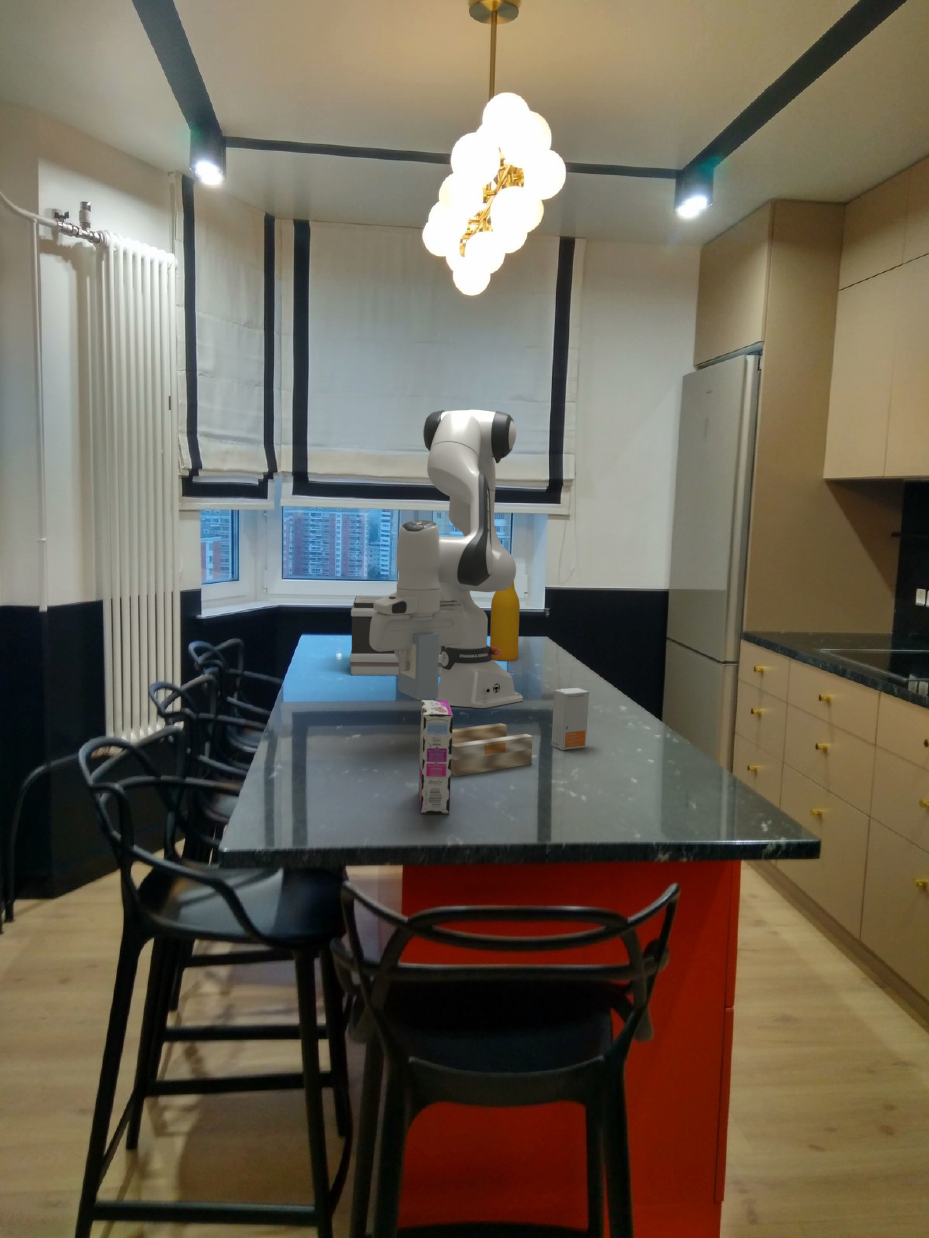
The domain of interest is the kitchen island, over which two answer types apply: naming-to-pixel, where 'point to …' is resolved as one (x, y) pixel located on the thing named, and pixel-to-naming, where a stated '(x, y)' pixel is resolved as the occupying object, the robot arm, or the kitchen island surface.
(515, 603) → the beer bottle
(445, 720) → the candy bar box
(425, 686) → the box
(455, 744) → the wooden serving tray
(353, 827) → the kitchen island surface
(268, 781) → the kitchen island surface
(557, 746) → the skincare box
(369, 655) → the toaster
